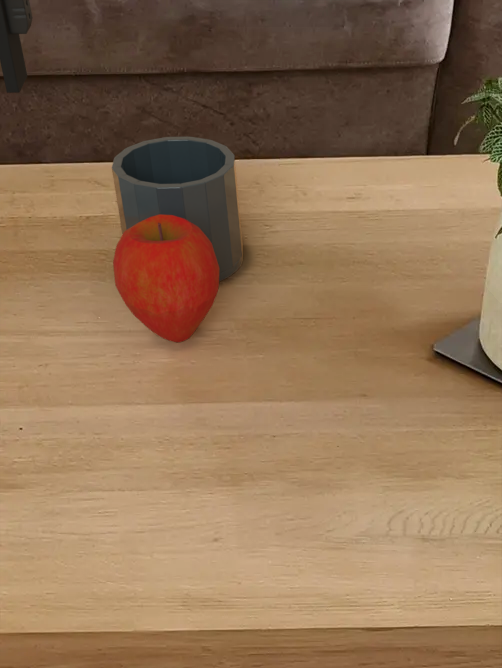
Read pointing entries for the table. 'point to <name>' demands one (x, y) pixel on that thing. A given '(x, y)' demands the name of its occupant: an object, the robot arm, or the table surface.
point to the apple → (167, 275)
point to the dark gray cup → (183, 190)
